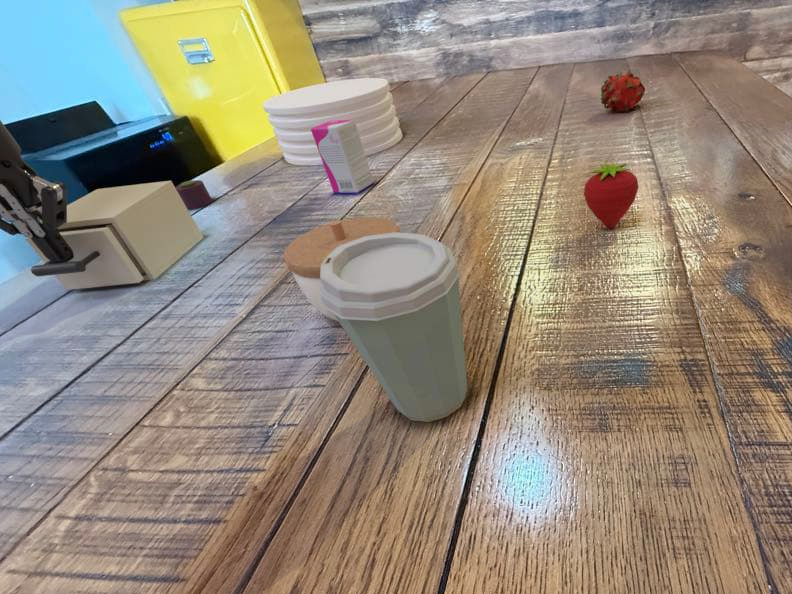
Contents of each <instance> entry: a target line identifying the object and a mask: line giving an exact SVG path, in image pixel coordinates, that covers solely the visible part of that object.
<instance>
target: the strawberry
mask: <svg viewBox="0 0 792 594" xmlns="http://www.w3.org/2000/svg"><path fill="white" fill-rule="evenodd" d="M611 156H612V154H610V155H609V156H608V158H607V159H606V160H605V162H604V164H602V163H600V168H598V169H594V170H592V171H591V170H590V171H589V174H594V175H592V176H591V177H590V178H589V179H588V180H587V181H586V183H584V190H583V196H584V199H585V202H586V205H587V207H588V209H590V211H591V212H592V214H593V215H594V216H595V217H596V218H597V219H598V220H599V221H600V222H601V223H602V224H603V226H605V227H606V228H607V229H612V228H615V227H616V226H617V225H618V223H619V222H620V220H621V219H622V218H623V217H624V216H625V215H626V214H627V212H628V211H629V210H630V208H631V206H633V203H634V202H635V200H636V196H637V194H638V190H639V183H638V177H637V176H636V175H635V174H634V173H633V172H631V169H630V168H626V166H627V165H628V163H624V164H623V163H622V164H618V165H616V164H615V163H612V164H607V162H608V161H609V160H610V158H611Z"/></svg>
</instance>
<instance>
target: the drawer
mask: <svg viewBox="0 0 792 594" xmlns="http://www.w3.org/2000/svg"><path fill="white" fill-rule="evenodd" d="M58 231H59V233H60V234H61V236H62V237H63V238H64V240H65V241H66V242H67V244H68V245H69V246H70V247H71V249H72V250H73V253H74V258H73V259H71V260H70V261H68V262H65V263H55V264H54V263H52V262H51V261H50V260H49V259H48V258H46V257H45V256H44V254H43V253H42V252H41V251H40V249H39V248H38V247H37V246H36V245H35V243H34V242H33V241H32V240H31V239H30V238H26V237H25V241H26V242H27V243H28V244H29V246H30V247H31V248H32V250H33V251H34V252H35V253H36V255H37V256H38V257H39V258H40V259H41V261H42V262H43V263H44V264H37V265H33V266H31V267H30V271H31V274H33V275H34V276H35V277H46V276H55V278H56V279H57V280H58V281H59V282H60V284H61V285H62V286H63V288H64V289H65V290H66V291H70V290H71V291H72V290H79V289H80V290H81V289H91V288H100V287H101V288H102V287H109V286H110V287H111V286H120V285H129V284H130V285H131V284H140V283H141V282H142V280H143V279H144V278H143V277H142V275H141V274H140V273H144V270H143V269H142V267H141V266H140V264H139V263H138V261H137V260H136V258H135V257H134V255H133V254H132V253H131V251H130V250H129V248H128V247H127V245H126V244H125V242H124V241H123V239H122V238H121V236H120V235H119V234H118V232H117V231H116V229H115V228H114V226H113V225H112V223H109V224H100V225H91V226H82V227H73V228H64V229H58ZM143 281H144V280H143Z"/></svg>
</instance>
